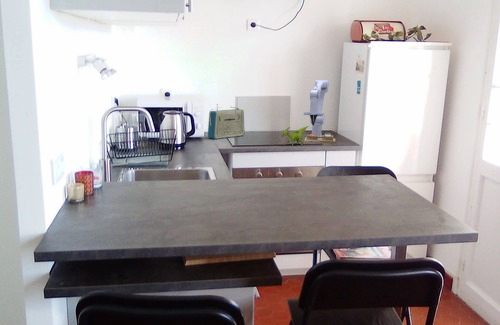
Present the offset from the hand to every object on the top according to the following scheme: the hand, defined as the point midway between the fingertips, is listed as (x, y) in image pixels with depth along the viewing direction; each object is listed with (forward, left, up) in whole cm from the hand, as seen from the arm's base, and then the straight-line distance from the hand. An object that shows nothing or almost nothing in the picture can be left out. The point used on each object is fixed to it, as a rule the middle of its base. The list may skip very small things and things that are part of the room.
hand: (313, 125), depth 354 cm
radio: (+10, -63, -11) cm, 64 cm away
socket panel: (+4, +6, -10) cm, 13 cm away
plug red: (+4, 0, -10) cm, 11 cm away
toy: (+25, -11, -11) cm, 30 cm away
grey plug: (+4, +11, -9) cm, 15 cm away
